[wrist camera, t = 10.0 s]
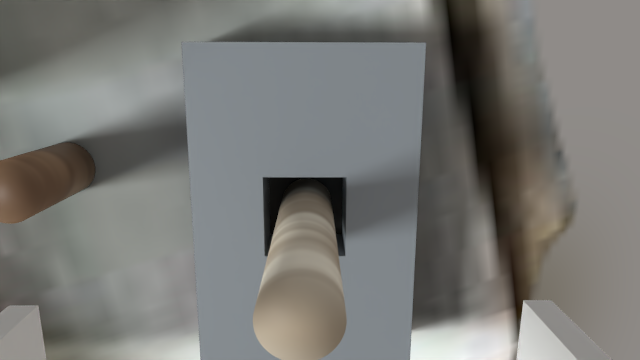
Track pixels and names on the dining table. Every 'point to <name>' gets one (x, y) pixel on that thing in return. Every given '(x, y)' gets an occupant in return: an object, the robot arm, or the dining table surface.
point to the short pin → (42, 179)
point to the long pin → (302, 278)
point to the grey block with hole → (304, 161)
